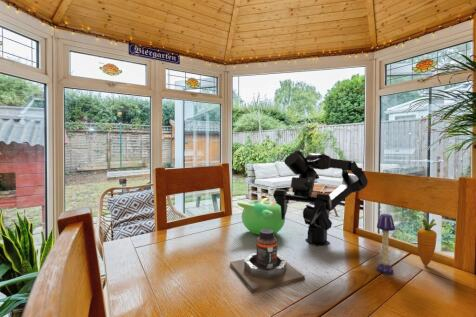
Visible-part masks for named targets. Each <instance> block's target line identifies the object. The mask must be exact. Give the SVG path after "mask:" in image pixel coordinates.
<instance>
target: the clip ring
mask: <svg viewBox="0 0 476 317" xmlns="http://www.w3.org/2000/svg"><path fill="white" fill-rule="evenodd" d="M244 259H245V260H244V269H245V270H246V271H247V272H248V273H249V274H250V275H251V277H256V278H261V279H266V280H270V279H274V278H278V277H282V276H283V275H284V273H285V271H286V266H287V263H288V262H287V259H286V258H284V257H283V256H281V255H280V254H279V253H277V265H278V266H277V267H272V268H268V269H267V268H262V267H256V266H254V265H253V263H256V262H257V252H253V253H249V254H248V256H247V257H246V258H244Z"/></svg>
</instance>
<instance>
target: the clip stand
mask: <svg viewBox="0 0 476 317" xmlns="http://www.w3.org/2000/svg"><path fill="white" fill-rule="evenodd" d="M245 259H246V258H243V259H239V260H233V261H230V263H229V265H230V267H231V268H232V269H233V270H234V272H235V273H236V274H237V276H238V277H240V280H242V281H243V282H244V285H246V286H247V287H248V289H249V291H251V292H252V294H253V293H257V292H261V291H265V290H270V289H273V288H276V287H277V288H278V287H281V286H285V285H288V284H292V283H297V282H300V281H304V280H306V278H305V277H306V276H305V275H304V274H303V273H301V272H300V271H298V270H297V269H296V268H295V267H294V266H292V265H291V264H290V263H288V262H287V266H286V271H285V273H284V275H283V276H282V277H278V278H274V279H270V280H266V279H261V278H256V277H251V275H250V274H249V273H248V272H247V271H246V270H245V269H244V260H245ZM253 265H254V266H256V267H257V262H256V263H253ZM277 266H278V265H277Z"/></svg>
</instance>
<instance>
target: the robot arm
mask: <svg viewBox="0 0 476 317" xmlns="http://www.w3.org/2000/svg"><path fill="white" fill-rule="evenodd" d="M284 164H285V165H286V167H288V168H289V170H291V172H292V173H293V174H294V175H297V176H298V177H295V176H293V177H291V183H290V188H291V189H292V190H291V191H292V193H293V194H290V193H287V192H288V191H287V190H286V189H275V190H274V191H273V193H272V196H273V198H274V201H275V203H276V204H278V205H279V206H280V207H281V217H282V220H284V218H285V219H286V214H287V210H288V204H289V201H293V202H300V203H306V205H305V208H303V211H302V218H303V219H304V224H305V225H308V230H307V238H305V241H306V242H308V243H310V244H311V245H314V246H315V247H319V246H323V245H329V244H331V242H330V241H329V240H328V231H329V229H331V228H332V225H333V222H332V221H331V220H330V213H331V211H332V210H334V209H335V208H336V207H338V205H339V204H340V203H341V202H343V201H344V200H345V199H346V198H348V197H349V195H351V194H352V193H358V192H360V191H362V190H364V189H366V187H367V185H368V183H369V182H368V178H367V176H366V173H365V172H364V171H363V170H362V169H361V167H359V166H358V164H357V163H356V161H354V160H347V159H346V160H345V159H338V158H332V157H330V155H327V154H325V153H314V152H313V153H312V152H310V153H309V152H308V154H307V155H306V156H304V155H303V153H302V152H301V151H300V150H297V149H296V150H294V152H293V153H292V152H291V153H290V154H289V155H288V156H286V157H285V159H284ZM328 169H338V170H341V177H342V182H341V184H340V185H339V186H338V187H336V188H335V189H334V190H333V191H331V193H329V194H328V193H320V192H319V193H316V197H315V196H312V195H313V192H314V187H315V185H314V184H315V181H316V180H319V179H320V176H319V174H318V173H317V171H316V170H321V171H323V170H328ZM349 171H350V173H349Z"/></svg>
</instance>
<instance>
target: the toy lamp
mask: <svg viewBox="0 0 476 317" xmlns="http://www.w3.org/2000/svg"><path fill="white" fill-rule="evenodd" d="M376 228H377V229H378V230H382V236H381V238H382V239H381V244H382V245H381V249H382V250H381V253H382V254H381V259H382V260H381V263H379V264H378V265H377V267H376V271H378V272H379V271H380V272H379V273H381V272H383V273H382V274H384V273H387V274H386V275H391V273H392V274H393V273H394V270H393V269H394V268H393V267H392V266H391V265H389V257H390V256H389V247H390V245H389V243H390V242H389V238H390V237H389V234H390V231H391V232H392V231H395V230H396V226H395V222H394V219H393V216H392V215H391V214H387V213H381V214H380V215H379V218H378V222H377V225H376Z"/></svg>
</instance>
